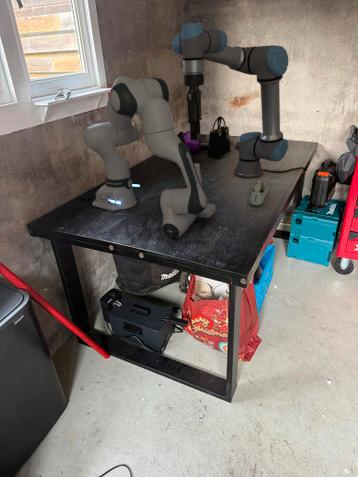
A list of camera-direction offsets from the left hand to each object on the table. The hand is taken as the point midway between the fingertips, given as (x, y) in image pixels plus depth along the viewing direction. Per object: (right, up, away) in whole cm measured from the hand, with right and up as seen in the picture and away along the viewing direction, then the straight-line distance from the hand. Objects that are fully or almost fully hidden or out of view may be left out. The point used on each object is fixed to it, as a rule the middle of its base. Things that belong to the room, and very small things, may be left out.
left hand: (197, 200), depth 146 cm
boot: (-4, +32, +68) cm, 75 cm away
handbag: (+19, +41, +81) cm, 92 cm away
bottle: (0, -6, +2) cm, 6 cm away
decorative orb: (0, +44, +88) cm, 98 cm away
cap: (-2, +25, -15) cm, 29 cm away
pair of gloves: (+15, +55, +106) cm, 121 cm away
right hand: (-2, +23, -14) cm, 27 cm away
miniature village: (+48, +50, +94) cm, 117 cm away
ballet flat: (+30, +3, +14) cm, 34 cm away
